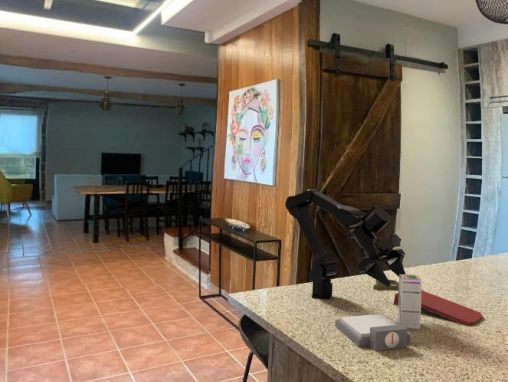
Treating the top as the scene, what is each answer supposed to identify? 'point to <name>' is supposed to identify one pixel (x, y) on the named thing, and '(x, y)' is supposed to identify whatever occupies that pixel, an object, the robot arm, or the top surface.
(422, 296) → the red wedge doorstop
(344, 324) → the kitchen scale
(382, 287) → the cookie cutter
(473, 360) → the top surface
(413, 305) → the syrup box
